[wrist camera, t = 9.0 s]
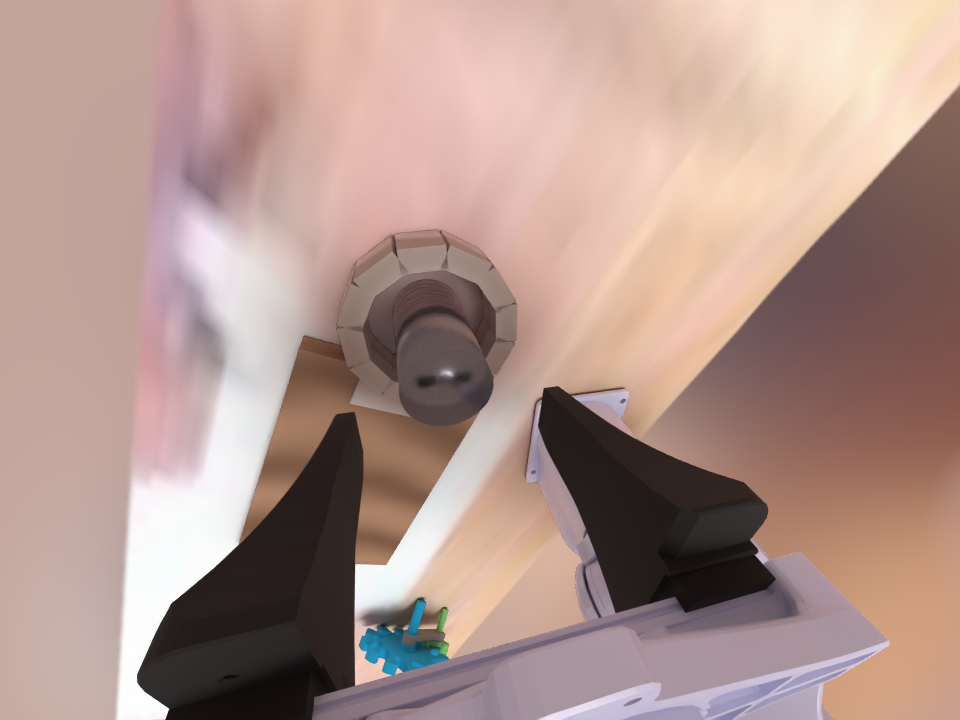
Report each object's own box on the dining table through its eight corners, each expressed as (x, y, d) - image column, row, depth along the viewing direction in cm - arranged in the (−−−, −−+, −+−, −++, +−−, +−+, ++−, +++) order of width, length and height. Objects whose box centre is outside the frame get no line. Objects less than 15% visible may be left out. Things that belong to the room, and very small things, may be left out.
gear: (339, 641, 38) (394, 699, 31) (362, 580, 40) (419, 621, 33) (412, 638, 45) (470, 684, 38) (429, 586, 47) (486, 621, 41)
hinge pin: (459, 337, 23) (491, 419, 16) (397, 343, 22) (403, 431, 16) (459, 277, 21) (495, 344, 14) (389, 281, 20) (393, 354, 13)
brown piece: (385, 549, 34) (386, 582, 31) (240, 541, 28) (227, 580, 26) (545, 279, 22) (565, 298, 20) (350, 186, 17) (345, 196, 15)
